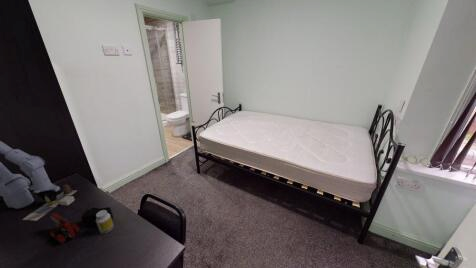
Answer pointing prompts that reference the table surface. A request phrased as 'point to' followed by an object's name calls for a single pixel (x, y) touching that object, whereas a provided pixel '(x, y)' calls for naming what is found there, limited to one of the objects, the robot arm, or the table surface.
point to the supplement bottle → (104, 221)
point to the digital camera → (93, 216)
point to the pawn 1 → (48, 200)
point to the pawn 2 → (66, 189)
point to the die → (67, 200)
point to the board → (46, 208)
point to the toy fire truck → (63, 228)
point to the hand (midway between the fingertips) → (51, 200)
